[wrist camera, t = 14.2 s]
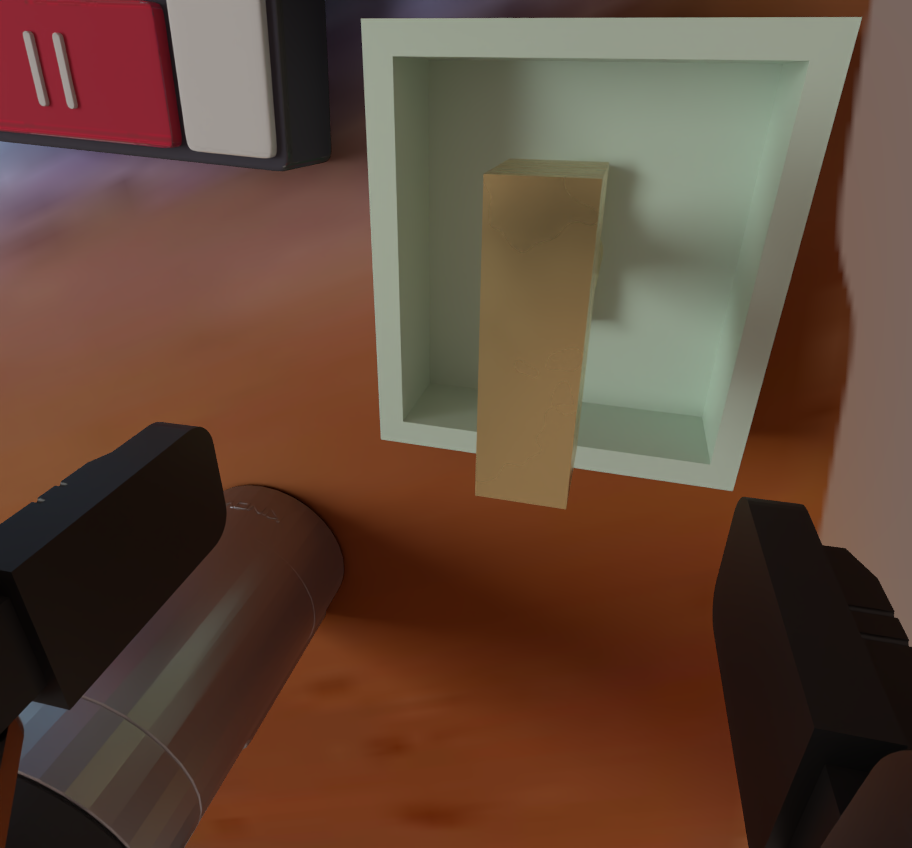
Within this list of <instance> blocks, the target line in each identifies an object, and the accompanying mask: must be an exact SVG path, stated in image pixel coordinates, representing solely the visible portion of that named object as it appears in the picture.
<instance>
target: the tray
mask: <svg viewBox="0 0 912 848" xmlns="http://www.w3.org/2000/svg"><path fill="white" fill-rule="evenodd" d="M861 19H862V17H721V18H361V32H362V53H363V74H364V95H365V116H366V136H367V157H368V178H369V199H370V220H371V241H372V262H373V283H374V303H375V324H376V345H377V366H378V387H379V408H380V429H381V439H382V440H389V441H396V442H403V443H410V444H416V445H423V446H430V447H437V448H444V449H450V450H457V451H464V452H471V453H476V442H477V403H478V365H479V326H480V287H481V248H482V209H483V174H484V173H486V172H487V171H489V170H491V169H493V168H494V167H496V166H498V165H499V164H501V163H503V162H504V161H506V160H508V159H510V158H511V159H540V160H568V161H596V162H609V170H608V179H607V188H606V197H605V205H604V214H603V223H602V232H601V241H602V245H603V257H602V262H601V266H600V270H599V275H598V279H597V283H596V288H595V293H594V302H593V311H592V319H591V328H590V337H589V346H588V354H587V363H586V372H585V381H584V389H583V398H582V407H581V416H580V425H579V433H578V442H577V451H576V457H575V462H574V468H579V469H586V470H593V471H600V472H606V473H613V474H620V475H627V476H634V477H640V478H647V479H654V480H661V481H667V482H674V483H681V484H688V485H695V486H701V487H708V488H715V489H722V490H729V491H733V489H734V485H735V481H736V478H737V474H738V470H739V467H740V463H741V459H742V456H743V452H744V448H745V445H746V441H747V437H748V434H749V430H750V426H751V423H752V419H753V415H754V412H755V408H756V404H757V401H758V397H759V393H760V390H761V386H762V382H763V379H764V375H765V371H766V368H767V364H768V360H769V357H770V353H771V349H772V346H773V342H774V338H775V335H776V331H777V327H778V324H779V320H780V316H781V313H782V309H783V305H784V302H785V298H786V294H787V291H788V287H789V283H790V280H791V276H792V272H793V269H794V265H795V261H796V258H797V254H798V250H799V247H800V243H801V239H802V236H803V232H804V228H805V225H806V221H807V217H808V214H809V210H810V206H811V203H812V199H813V195H814V192H815V188H816V184H817V181H818V177H819V173H820V170H821V166H822V162H823V159H824V155H825V151H826V148H827V144H828V140H829V137H830V133H831V129H832V126H833V122H834V118H835V115H836V111H837V107H838V104H839V100H840V96H841V93H842V89H843V85H844V82H845V78H846V74H847V71H848V67H849V63H850V60H851V56H852V52H853V49H854V45H855V41H856V38H857V34H858V30H859V27H860V23H861Z"/></svg>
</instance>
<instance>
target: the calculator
mask: <svg viewBox="0 0 912 848" xmlns="http://www.w3.org/2000/svg"><path fill="white" fill-rule="evenodd" d="M0 141H3V142H12V143H22V144H31V145H40V146H50V147H59V148H68V149H77V150H87V151H96V152H105V153H115V154H124V155H133V156H142V157H152V158H161V159H170V160H179V161H189V162H198V163H207V164H217V165H226V166H235V167H244V168H254V169H263V170H272V171H286V170H291V169H295V168H300V167H305V166H309V165H314V164H318V163H322V162H326V161H327V160H328V159H329V158H330V155H331V135H330V110H329V86H328V61H327V37H326V13H325V0H0Z"/></svg>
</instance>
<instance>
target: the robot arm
mask: <svg viewBox="0 0 912 848" xmlns="http://www.w3.org/2000/svg"><path fill="white" fill-rule="evenodd" d="M343 574H344V564H343V557H342V553H341V550H340V547H339V544H338V543H337V541H336V539H335V537H334V535H333V534H332V532H331V530H330V529H329V528H328V527H327V525H326V524H325V523H324V522H323V521H322V519H321V518H320V517H319V516H317V515H316V514H315V513H314V512H313V511H312V510H311V509H310V508H309V507H307V506H306V505H304V504H303V503H301V502H300V501H298V500H296V499H295V498H293V497H291V496H289V495H287V494H285V493H282V492H280V491H278V490H274V489H270V488H266V487H263V486H251V485H245V486H238V487H232V488H230V489H227V490H225V491H223V488H222V483H221V478H220V473H219V468H218V464H217V459H216V454H215V449H214V444H213V440H212V437H211V435H210V434H209V432H208V431H207V430H206V429H204V428H202V427H196V426H188V425H180V424H172V423H164V422H156V423H153V424H151V425H149V426H148V427H146V428H145V429H144V430H142V431H141V432H139V433H138V434H137V435H135V436H134V437H132V438H131V439H130V440H128V441H127V442H125V443H124V444H123V445H121V446H120V447H119V448H117V449H116V450H114V451H113V452H111V453H109V454H107V455H104V456H102V457H100V458H97V459H95V460H93V461H91V462H88V463H87V464H85V465H84V466H82V467H81V468H80V469H78V470H77V471H75V472H74V473H72V474H71V475H70V476H68V477H67V478H65V479H64V480H62V481H61V484H60V486H54V487H53V488H51V489H50V490H48V491H47V492H45V493H44V494H43V495H41V496H40V497H38V501H37V503H34V502H31V503H30V504H28V505H27V506H26V507H24V508H23V509H21V510H20V511H18V512H17V513H16V514H14V515H13V516H11V517H10V518H9V519H7V520H6V521H4V522H3V523H1V524H0V848H184V847H185V845H186V844H187V842H188V840H189V839H190V837H191V835H192V834H193V832H194V830H195V829H196V827H197V825H198V823H199V821H200V819H201V818H202V816H203V814H204V813H205V811H206V809H207V808H208V806H209V804H210V803H211V801H212V799H213V798H214V796H215V794H216V793H217V791H218V789H219V788H220V786H221V784H222V783H223V781H224V779H225V778H226V776H227V774H228V773H229V771H230V769H231V768H232V766H233V764H234V763H235V761H236V759H237V758H238V756H239V754H240V753H241V751H242V749H244V748H245V747H247V746H248V745H249V743H250V742H251V740H252V739H253V737H254V735H255V733H256V732H257V730H258V728H259V727H260V725H261V723H262V722H263V720H264V718H265V717H266V715H267V713H268V712H269V710H270V708H271V707H272V705H273V703H274V701H275V700H276V698H277V696H278V695H279V693H280V691H281V690H282V688H283V686H284V685H285V683H286V681H287V680H288V678H289V676H290V674H291V673H292V671H293V669H294V668H295V666H296V664H297V663H298V661H299V659H300V658H301V656H302V654H303V653H304V651H305V649H306V648H307V646H308V644H309V642H310V641H311V639H312V637H313V636H314V634H315V632H316V631H317V629H318V627H319V626H320V624H321V622H322V621H323V619H324V617H325V615H326V609H327V608H328V606H329V604H330V603H331V601H332V599H333V598H334V596H335V594H336V593H337V591H338V589H339V587H340V585H341V583H342V579H343ZM713 630H714V637H715V643H716V649H717V655H718V661H719V667H720V673H721V680H722V686H723V692H724V698H725V704H726V710H727V717H728V723H729V729H730V735H731V741H732V747H733V754H734V760H735V766H736V772H737V778H738V784H739V790H740V797H741V803H742V809H743V815H744V821H745V827H746V834H747V840H748V846H749V848H912V647H909V646H908V641H909V639H908V637H907V635H906V633H905V631H904V629H903V627H902V625H901V623H900V622H899V619H898V618H894V610H893V608H892V606H891V604H890V602H889V600H888V598H887V596H886V594H885V592H884V590H883V588H882V586H881V584H880V582H879V580H878V579H877V577H875V576H874V575H873V574H872V573H871V572H870V571H869V570H868V569H867V568H866V567H865V566H864V565H863V564H862V563H860V562H859V561H858V560H857V559H856V558H855V557H854V556H853V555H852V554H851V553H850V552H849V551H848V550H846V549H845V548H838V547H831V546H824V545H822V543H821V541H820V539H819V536H818V534H817V532H816V529H815V527H814V525H813V522H812V520H811V518H810V515H809V513H808V511H807V509H806V507H805V506H804V505H802V504H796V503H788V502H780V501H772V500H764V499H756V498H748V497H742V498H740V500H739V501H738V503H737V506H736V508H735V512H734V515H733V519H732V523H731V527H730V531H729V535H728V538H727V542H726V546H725V550H724V554H723V558H722V562H721V565H720V569H719V573H718V577H717V581H716V585H715V591H714V598H713Z"/></svg>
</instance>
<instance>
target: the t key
mask: <svg viewBox="0 0 912 848" xmlns="http://www.w3.org/2000/svg"><path fill="white" fill-rule="evenodd" d="M608 170H609V162H596V161H568V160H540V159H511V158H510V159H508V160H506V161H504V162H503V163H501V164H499V165H498V166H496V167H494V168H493V169H491V170H489V171H487V172H486V173H484V174H483V209H482V248H481V287H480V326H479V365H478V403H477V442H476V481H475V495H476V496H483V497H489V498H496V499H502V500H509V501H515V502H522V503H528V504H535V505H541V506H548V507H554V508H561V509H566V507H567V501H568V496H569V490H570V484H571V479H572V473H573V468H574V462H575V457H576V451H577V442H578V433H579V425H580V416H581V407H582V398H583V389H584V381H585V372H586V363H587V354H588V346H589V337H590V328H591V319H592V311H593V302H594V293H595V288H596V283H597V279H598V275H599V270H600V266H601V262H602V257H603V245H602V241H601V232H602V223H603V214H604V205H605V197H606V188H607V179H608Z"/></svg>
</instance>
